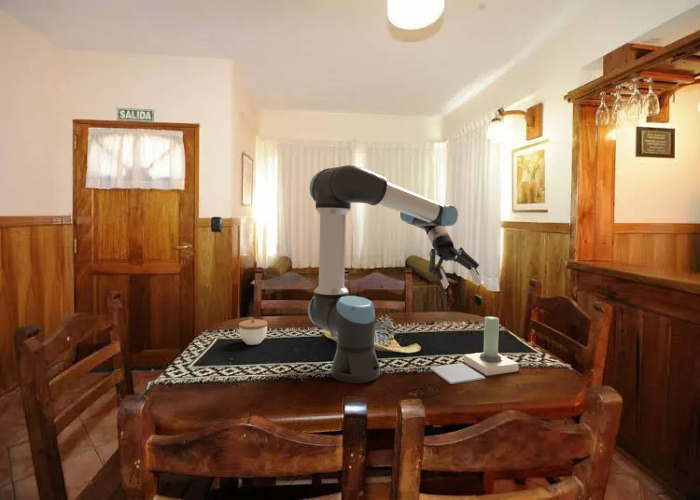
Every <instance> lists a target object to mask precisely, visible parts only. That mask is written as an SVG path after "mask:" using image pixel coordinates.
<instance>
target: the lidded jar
mask: <svg viewBox="0 0 700 500" xmlns="http://www.w3.org/2000/svg"><path fill="white" fill-rule="evenodd" d="M238 330H239V331H238V332H239V336H240V339H241V340H242V341H243V342H244V344H246V345H250V346H251V345H252V346H253V345H259V344H262V343H263V342H262V341H264V339H265V338H266V336H267V333H268V332H267V331H268V321H267V320H265V319H256V318H251V319H248V320H247V319H246V320H243V321H241V322H239V323H238Z"/></svg>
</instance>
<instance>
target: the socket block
mask: <svg viewBox="0 0 700 500" xmlns="http://www.w3.org/2000/svg"><path fill="white" fill-rule="evenodd" d="M482 353H484V351H483V352H476V353H468V354H463V363H465V365H467V366H470V368H471V367H472V369H474V370H475V371H477V372H479V373H480V374H481V373H482V375H485V376H494V375H499V374H506V373H514V372H518V371H519V363H518V362H516V361H514V360H512V359H511V358H509V357H506V356H505V355H502V354H500V353H498V355H500V356H501V361H500V362H497V363H488V362H486V361H483V360H481V359H480V354H482Z"/></svg>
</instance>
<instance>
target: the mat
mask: <svg viewBox="0 0 700 500" xmlns="http://www.w3.org/2000/svg"><path fill="white" fill-rule="evenodd" d="M429 370H431V371H432V372H433V373H435V374H436V375H437V376H438V377H440V378H441V379H443V380H444V381H446V382H447V383H448V384H450V385H453V384H461V383H468V382H473V381H474V382H476V381H482V380H486V377H485V376H484V374H481V373H480V372H479V371H477V370H475V369H474V368H471V367H469V365H467V364H464V362H459V363H455V364H454V363H452V364H451V363H450V364H445V365H437V366H431V367H429Z"/></svg>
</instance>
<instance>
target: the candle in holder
mask: <svg viewBox="0 0 700 500" xmlns="http://www.w3.org/2000/svg"><path fill="white" fill-rule="evenodd" d="M499 327H500V318H499V317H496V316H484V329H483V352H484V353H482V352H481V353H482V354H480V359H481V360H483V361H486V362H488V363H497V362H500V361H501V356H500V355H501V354H500V355H498V354H499V335H500V334H499V331H500V329H499Z"/></svg>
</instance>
